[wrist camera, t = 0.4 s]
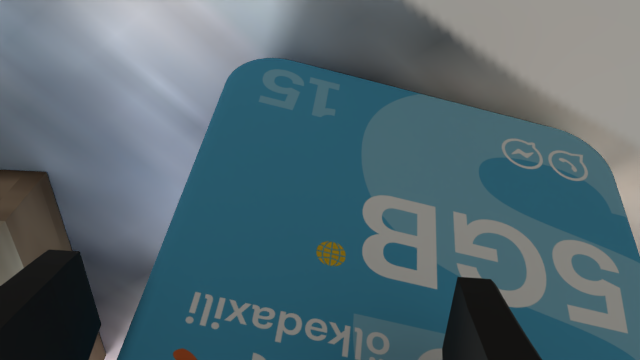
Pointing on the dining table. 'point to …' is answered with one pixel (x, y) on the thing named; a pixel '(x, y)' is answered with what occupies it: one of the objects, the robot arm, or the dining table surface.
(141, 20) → the dining table surface
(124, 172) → the dining table surface
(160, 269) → the data package
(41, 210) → the walnut box
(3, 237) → the cover plate
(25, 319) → the robot arm
